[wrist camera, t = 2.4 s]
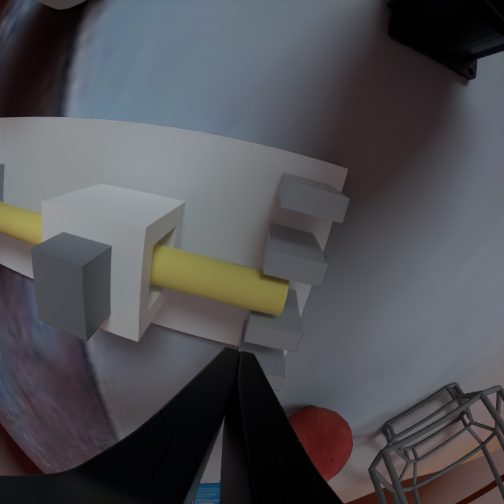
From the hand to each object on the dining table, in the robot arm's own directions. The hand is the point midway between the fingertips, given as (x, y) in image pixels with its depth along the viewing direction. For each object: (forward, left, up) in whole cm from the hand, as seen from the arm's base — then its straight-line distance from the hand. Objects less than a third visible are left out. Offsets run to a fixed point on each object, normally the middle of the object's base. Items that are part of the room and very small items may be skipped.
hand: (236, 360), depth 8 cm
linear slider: (+9, 0, -10) cm, 13 cm away
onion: (-8, +12, -10) cm, 17 cm away
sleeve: (+6, 0, -8) cm, 10 cm away
